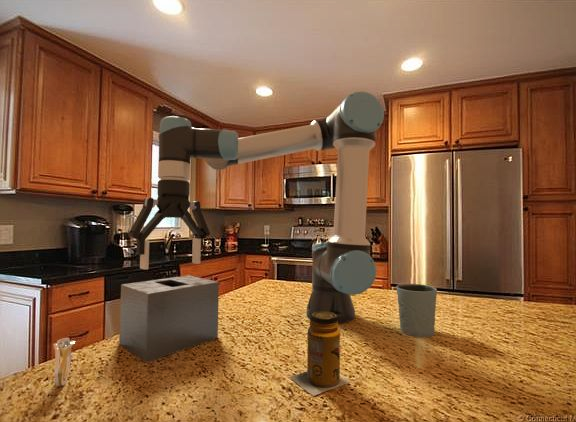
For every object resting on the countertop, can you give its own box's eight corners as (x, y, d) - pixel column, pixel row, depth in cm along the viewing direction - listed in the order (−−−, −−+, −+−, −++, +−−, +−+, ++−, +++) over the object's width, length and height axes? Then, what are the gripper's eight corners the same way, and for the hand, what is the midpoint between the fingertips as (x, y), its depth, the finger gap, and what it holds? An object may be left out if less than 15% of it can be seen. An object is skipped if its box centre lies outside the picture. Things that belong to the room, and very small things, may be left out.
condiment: (349, 383, 56) (349, 316, 56) (313, 397, 51) (313, 324, 51) (324, 367, 62) (324, 307, 62) (289, 378, 57) (289, 313, 57)
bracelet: (58, 377, 56) (59, 333, 57) (78, 374, 58) (80, 331, 58) (44, 397, 50) (46, 347, 50) (67, 393, 51) (69, 345, 52)
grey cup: (442, 331, 83) (441, 287, 83) (429, 341, 75) (429, 293, 76) (405, 323, 90) (405, 282, 90) (390, 331, 82) (390, 287, 83)
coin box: (217, 337, 76) (218, 281, 77) (145, 362, 63) (147, 293, 63) (187, 325, 86) (188, 275, 86) (119, 344, 72) (121, 284, 72)
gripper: (207, 186, 88) (206, 260, 87) (114, 175, 69) (111, 269, 68) (223, 184, 83) (222, 262, 82) (127, 172, 64) (124, 273, 63)
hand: (171, 266), depth 75 cm, fingers open, 13 cm apart
